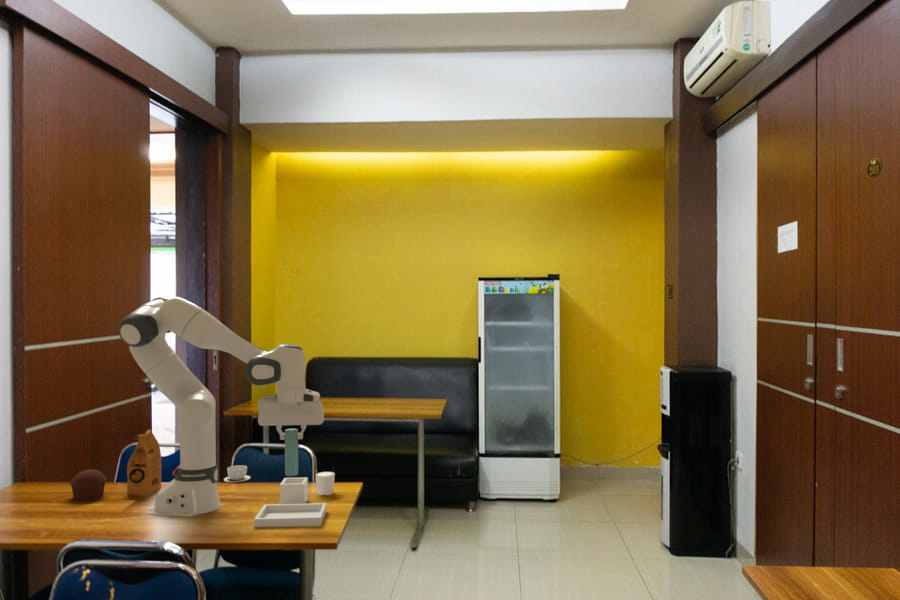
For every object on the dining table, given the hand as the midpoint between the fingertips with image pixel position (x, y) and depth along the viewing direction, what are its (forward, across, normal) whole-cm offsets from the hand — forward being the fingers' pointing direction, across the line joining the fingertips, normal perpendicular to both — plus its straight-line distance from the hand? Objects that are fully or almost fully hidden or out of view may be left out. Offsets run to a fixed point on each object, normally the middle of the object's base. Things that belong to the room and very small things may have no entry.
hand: (291, 439), depth 201 cm
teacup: (+26, -30, +49) cm, 63 cm away
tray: (+26, 0, 0) cm, 26 cm away
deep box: (+26, -2, +16) cm, 30 cm away
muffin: (+26, -75, +27) cm, 84 cm away
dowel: (+11, 0, 0) cm, 11 cm away
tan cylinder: (+26, +7, +28) cm, 39 cm away
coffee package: (+26, -58, +33) cm, 72 cm away
